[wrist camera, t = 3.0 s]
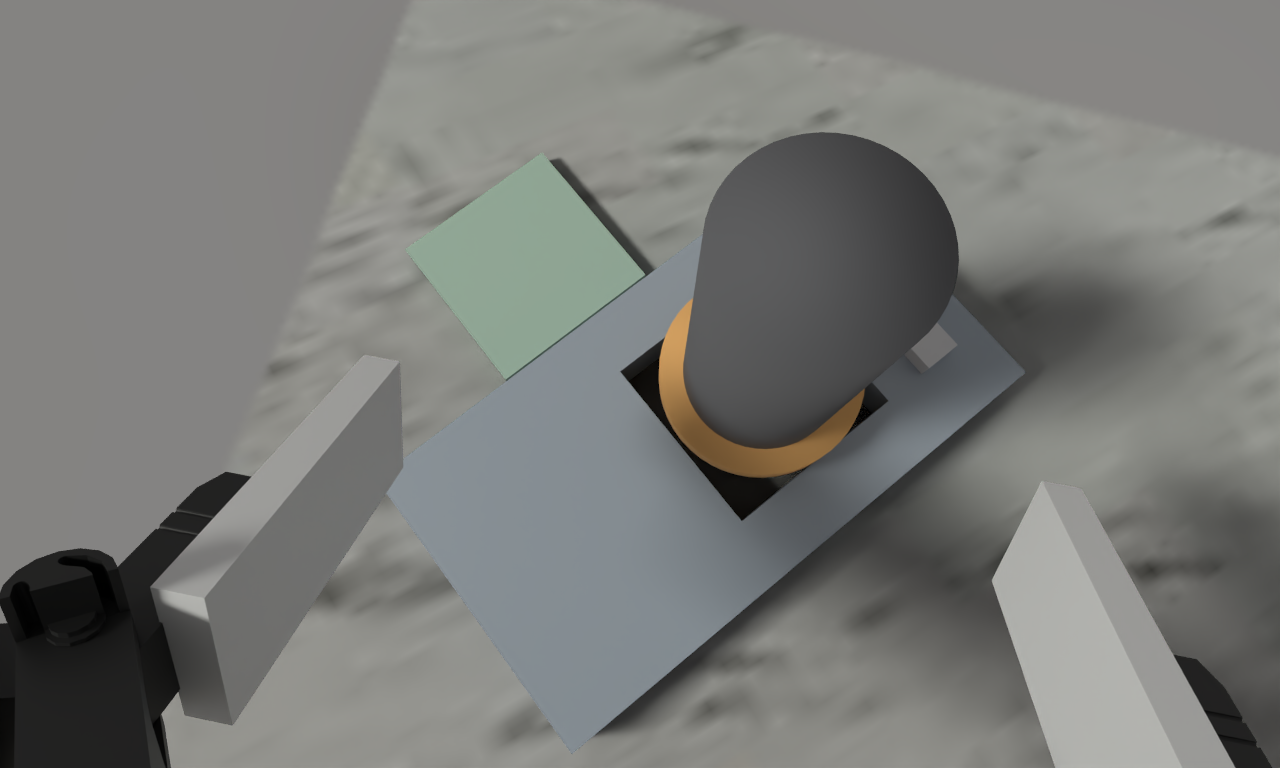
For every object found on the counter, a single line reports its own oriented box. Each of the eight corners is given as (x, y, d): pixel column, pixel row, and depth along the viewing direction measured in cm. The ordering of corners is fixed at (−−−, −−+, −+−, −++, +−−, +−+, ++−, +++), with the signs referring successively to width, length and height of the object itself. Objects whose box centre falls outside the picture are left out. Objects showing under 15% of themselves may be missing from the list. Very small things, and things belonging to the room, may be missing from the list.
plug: (871, 413, 27) (1069, 271, 14) (735, 525, 26) (814, 480, 13) (756, 282, 28) (843, 42, 15) (622, 386, 27) (596, 223, 14)
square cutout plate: (999, 386, 27) (1054, 357, 23) (578, 739, 24) (565, 769, 21) (804, 177, 29) (827, 119, 25) (396, 486, 26) (355, 471, 23)
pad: (645, 280, 28) (645, 274, 27) (508, 383, 27) (505, 379, 27) (544, 160, 29) (542, 152, 28) (410, 256, 28) (404, 249, 28)
